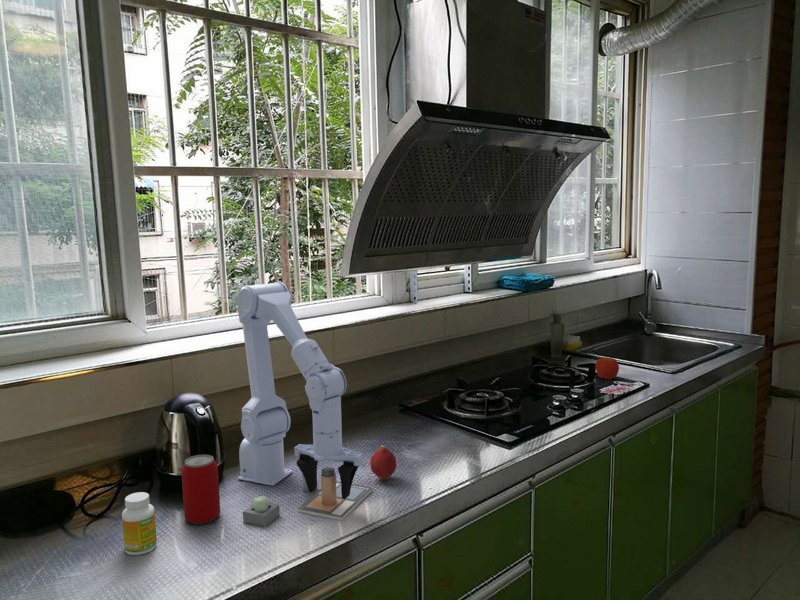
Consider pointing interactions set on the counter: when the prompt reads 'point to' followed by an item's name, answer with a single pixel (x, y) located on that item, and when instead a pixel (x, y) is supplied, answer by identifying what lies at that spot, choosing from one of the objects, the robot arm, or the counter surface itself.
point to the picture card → (342, 505)
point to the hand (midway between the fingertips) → (329, 493)
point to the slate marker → (305, 485)
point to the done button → (261, 504)
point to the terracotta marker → (328, 486)
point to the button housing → (261, 515)
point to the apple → (607, 367)
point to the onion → (383, 463)
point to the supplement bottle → (139, 524)
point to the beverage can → (200, 489)
